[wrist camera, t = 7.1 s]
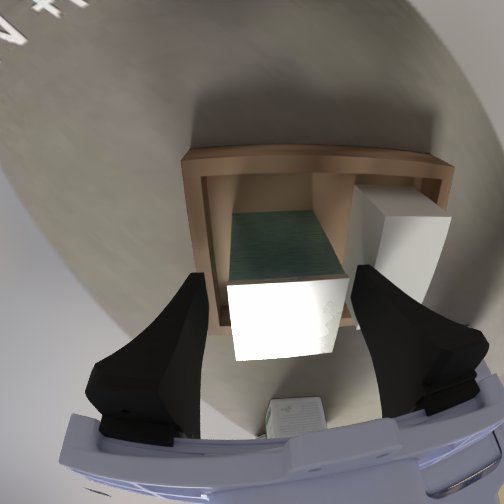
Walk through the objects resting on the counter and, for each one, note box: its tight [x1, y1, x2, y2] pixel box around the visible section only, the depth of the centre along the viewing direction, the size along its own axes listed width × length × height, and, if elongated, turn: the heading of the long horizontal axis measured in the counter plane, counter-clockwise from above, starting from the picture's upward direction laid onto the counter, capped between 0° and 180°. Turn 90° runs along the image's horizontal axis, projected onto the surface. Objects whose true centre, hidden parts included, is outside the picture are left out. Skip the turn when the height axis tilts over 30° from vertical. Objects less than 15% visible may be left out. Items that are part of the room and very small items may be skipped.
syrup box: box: [265, 397, 327, 439], centre depth 23 cm, size 6×6×14 cm
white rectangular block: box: [342, 184, 452, 330], centre depth 15 cm, size 4×7×4 cm, turn 2°
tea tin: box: [227, 210, 349, 360], centre depth 14 cm, size 4×4×6 cm
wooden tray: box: [181, 144, 455, 335], centre depth 16 cm, size 14×11×2 cm
